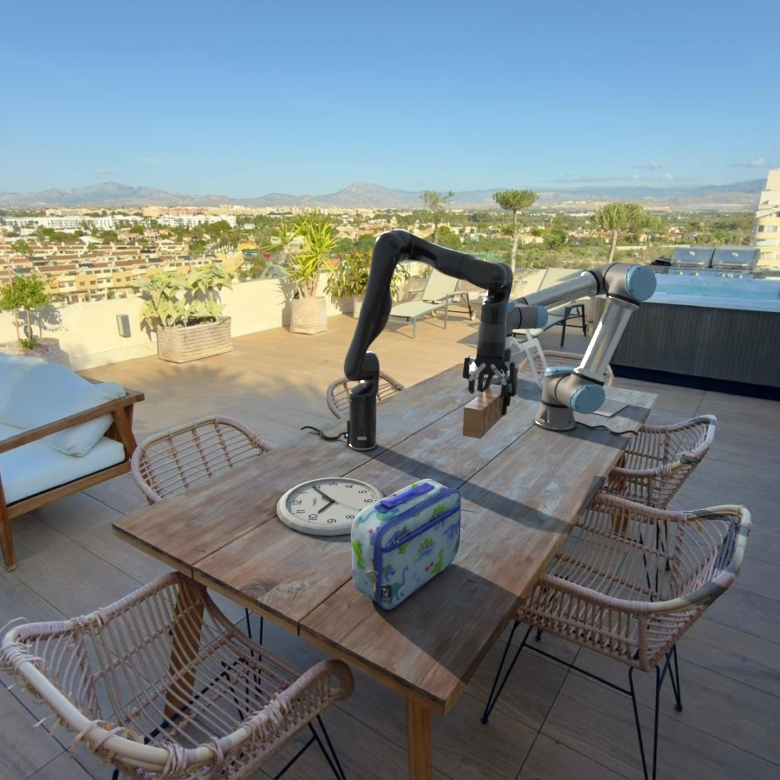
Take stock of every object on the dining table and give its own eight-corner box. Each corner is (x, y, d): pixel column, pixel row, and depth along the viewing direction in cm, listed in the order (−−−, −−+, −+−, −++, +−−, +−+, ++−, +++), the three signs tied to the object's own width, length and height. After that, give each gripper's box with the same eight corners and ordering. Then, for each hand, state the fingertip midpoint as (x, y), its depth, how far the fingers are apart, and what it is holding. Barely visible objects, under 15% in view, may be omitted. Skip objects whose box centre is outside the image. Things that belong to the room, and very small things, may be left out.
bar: (490, 409, 186) (492, 384, 183) (506, 412, 183) (508, 386, 180) (462, 435, 163) (463, 407, 160) (480, 439, 160) (482, 410, 157)
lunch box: (380, 623, 100) (381, 528, 94) (344, 596, 108) (343, 505, 101) (464, 565, 118) (470, 482, 112) (428, 545, 125) (432, 466, 119)
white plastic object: (487, 418, 267) (468, 395, 242) (469, 346, 289) (449, 318, 264) (558, 394, 255) (545, 368, 230) (533, 321, 277) (518, 289, 252)
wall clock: (392, 527, 129) (268, 531, 127) (391, 533, 130) (269, 537, 127) (383, 473, 158) (282, 475, 155) (383, 478, 158) (282, 480, 156)
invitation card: (608, 416, 214) (573, 407, 224) (608, 416, 214) (573, 408, 224) (628, 404, 229) (594, 396, 238) (628, 405, 229) (594, 397, 238)
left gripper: (462, 338, 141) (459, 395, 146) (516, 343, 136) (510, 402, 141) (469, 333, 147) (465, 388, 152) (520, 338, 142) (515, 394, 147)
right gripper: (469, 346, 175) (465, 411, 182) (524, 353, 167) (519, 421, 174) (476, 342, 182) (473, 405, 189) (530, 348, 173) (525, 414, 180)
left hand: (487, 395), depth 146 cm, fingers open, 8 cm apart
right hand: (495, 412), depth 181 cm, fingers closed on bar, 6 cm apart
